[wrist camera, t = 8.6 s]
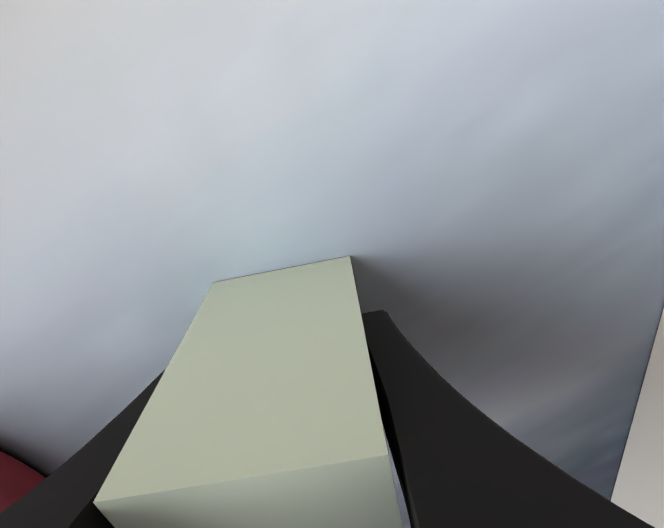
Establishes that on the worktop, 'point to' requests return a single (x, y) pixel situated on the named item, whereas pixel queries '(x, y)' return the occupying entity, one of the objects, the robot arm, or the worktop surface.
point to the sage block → (262, 415)
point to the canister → (15, 480)
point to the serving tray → (646, 446)
